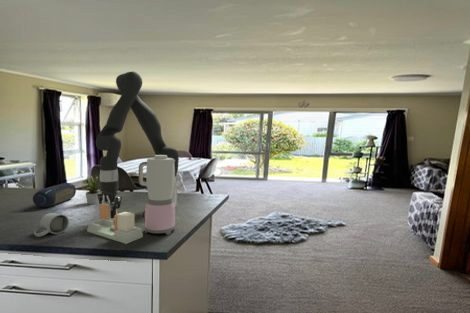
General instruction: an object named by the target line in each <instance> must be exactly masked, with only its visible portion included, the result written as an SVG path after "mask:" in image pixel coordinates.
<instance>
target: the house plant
mask: <svg viewBox="0 0 470 313" xmlns="http://www.w3.org/2000/svg"><path fill="white" fill-rule="evenodd" d="M90 178H91V179H90ZM90 178H89V177H88V176H87V177H86V179H87V181H85V184H86V185H87V186H86V185H82V187H81V188H80V190H81V189H83V190H85V191H87V192H85V197H86V202H87V204H88V205H92V206H93V205H98V204H99V200H98V196H97V194H100V193H101V190H100V178H99V180H98V176H96V177H95V178H93V176H92V175H90ZM79 179H80V178H79ZM80 180H81V181H82V182H84V180H83V179H80ZM98 190H100V191H98Z"/></svg>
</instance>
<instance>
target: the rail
mask: <svg viewBox="0 0 470 313" xmlns="http://www.w3.org/2000/svg"><path fill="white" fill-rule="evenodd" d="M87 224H88V226H87V228H86V231H87V232H88V233H91V234H94V235H96V236H97V235H98V236H101V237H103V238H106V239H110V240H113V241H116V242H118V243H119V242H120V243H122V244H125V245H127V244H130V243H132V242H134V241H137V240H140V239H141V238H144V233H143V229H142V228H140V227H136V226H135V213H133V212H130V211H129V212H128V211H123V212H120V213H118V214H117V215H115V216H114V220H113V221H111V220H108V219H104V218H103V219H100V218H99V219H97V220H93V221H90V222H88V223H87Z"/></svg>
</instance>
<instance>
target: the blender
mask: <svg viewBox="0 0 470 313" xmlns="http://www.w3.org/2000/svg"><path fill="white" fill-rule="evenodd" d="M153 156H154V157H148V158H147V159H146V161H142V162H141V163H139V165H138V184H139V185H140V186H143V187H146V189H147V195H148V197H147V198H148V200H147V202H146V205H145V209H144V211H142V217H143V218H144V224H145V225H144V231H145V234H148V233H150V234H151V233H152V234H165V235H166V236H169V235H171V234H172V231H174V230H175V229H176V207H175V206H174V203H173V201H172V194H173V188H174V180H175V167H174V162H175V160H174V159H173V158H167V155H153ZM144 167H146V177H145V178H146V181H144Z"/></svg>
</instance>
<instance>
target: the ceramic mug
mask: <svg viewBox="0 0 470 313" xmlns="http://www.w3.org/2000/svg"><path fill="white" fill-rule="evenodd" d="M69 223H70V222H69V218H68V216H67V215H66V214H62V213H56V212H49V213H46V214H44V215H43V216H42V217H41V219H40V222H39V224H40V226H39V227H37V228H36V229H35V230H34V231H33V234H34V236H35V237H36V238H40V237H43V236H45V235H47V234H49V233H50V234H53V235H59V234H62V233H64V232H65V231H66V230H67V228H68V227H69ZM42 230H43V231H42ZM40 231H41V232H40Z"/></svg>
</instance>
